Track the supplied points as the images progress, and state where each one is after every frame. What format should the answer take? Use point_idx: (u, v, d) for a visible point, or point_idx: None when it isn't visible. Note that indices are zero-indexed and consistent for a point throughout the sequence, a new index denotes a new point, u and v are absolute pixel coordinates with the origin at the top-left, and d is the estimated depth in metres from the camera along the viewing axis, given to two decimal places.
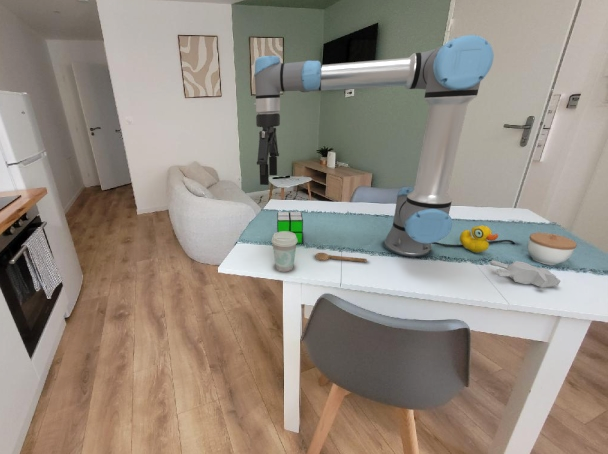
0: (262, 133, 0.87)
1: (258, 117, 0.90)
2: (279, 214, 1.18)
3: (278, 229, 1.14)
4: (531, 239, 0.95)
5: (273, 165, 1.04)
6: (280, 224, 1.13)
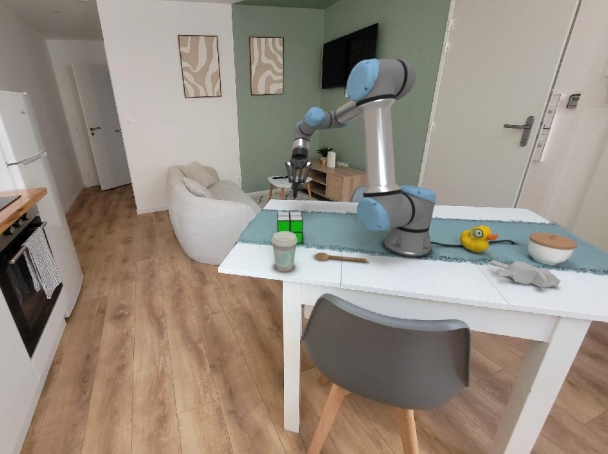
0: (285, 166, 1.35)
1: None
2: (279, 214, 1.18)
3: (278, 229, 1.14)
4: (531, 239, 0.95)
5: None
6: (280, 224, 1.13)
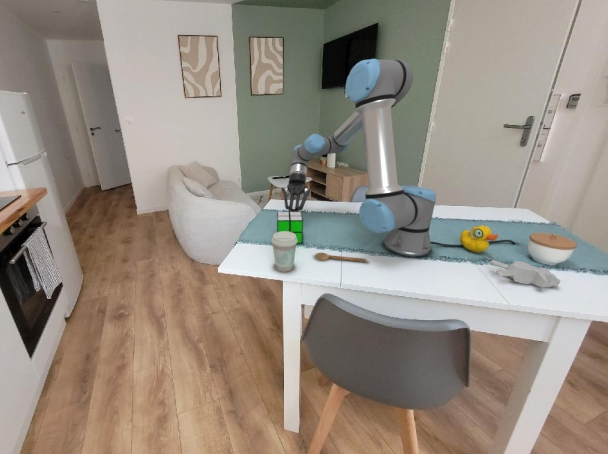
0: (282, 191, 1.32)
1: None
2: (279, 215, 1.18)
3: (278, 229, 1.14)
4: (531, 239, 0.95)
5: None
6: (280, 224, 1.13)
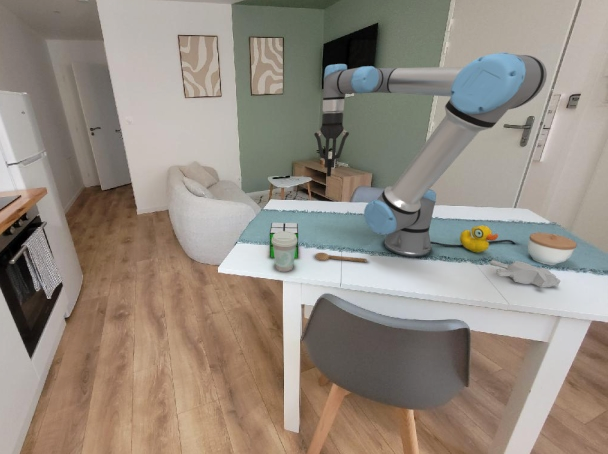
0: None
1: None
2: (272, 226, 1.08)
3: (271, 242, 1.04)
4: (531, 239, 0.95)
5: None
6: None
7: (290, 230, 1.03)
